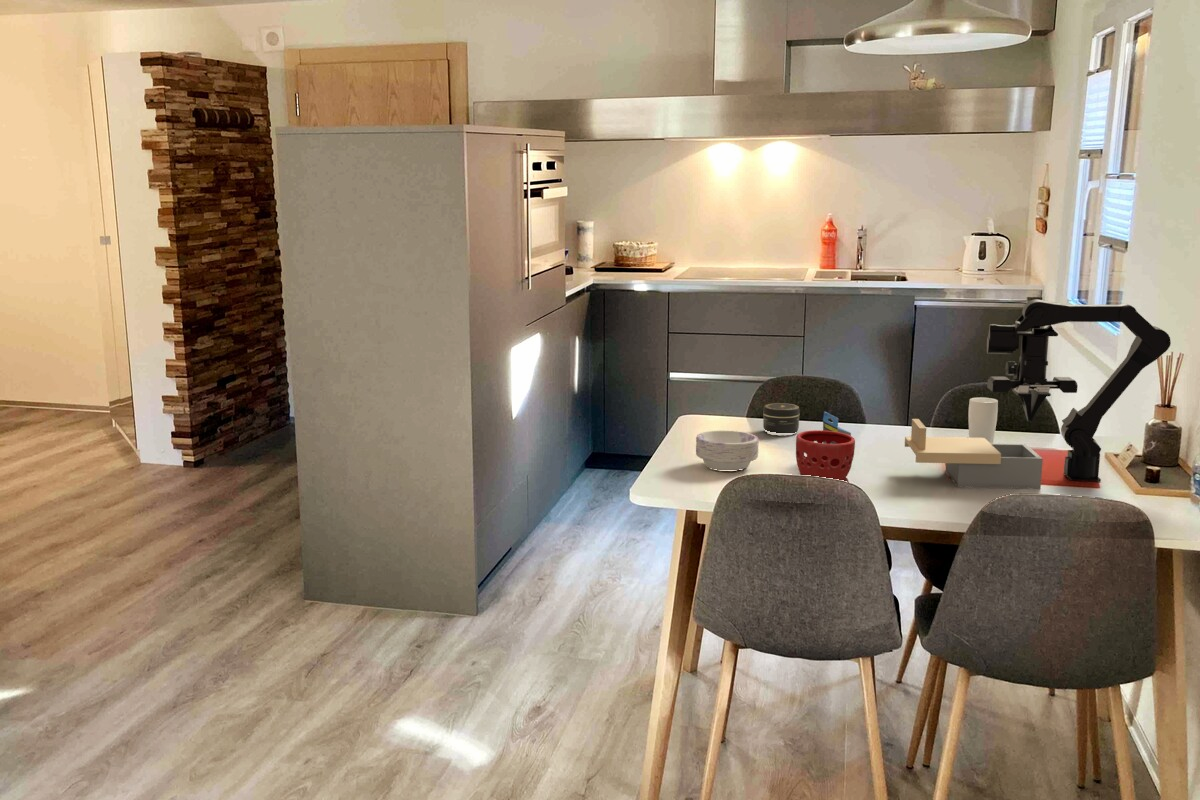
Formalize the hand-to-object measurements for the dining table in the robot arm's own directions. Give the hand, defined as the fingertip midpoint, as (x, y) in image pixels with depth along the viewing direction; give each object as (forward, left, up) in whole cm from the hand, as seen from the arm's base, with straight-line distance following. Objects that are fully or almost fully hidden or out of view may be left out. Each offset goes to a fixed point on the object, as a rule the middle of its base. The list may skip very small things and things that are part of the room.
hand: (1029, 420), depth 246 cm
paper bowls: (+70, -2, -13) cm, 71 cm away
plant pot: (+48, +14, -13) cm, 52 cm away
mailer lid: (+18, +5, -7) cm, 20 cm away
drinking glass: (+7, -15, -13) cm, 21 cm away
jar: (+55, -41, -13) cm, 70 cm away
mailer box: (+9, +5, -13) cm, 17 cm away
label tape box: (+43, -9, -13) cm, 46 cm away
